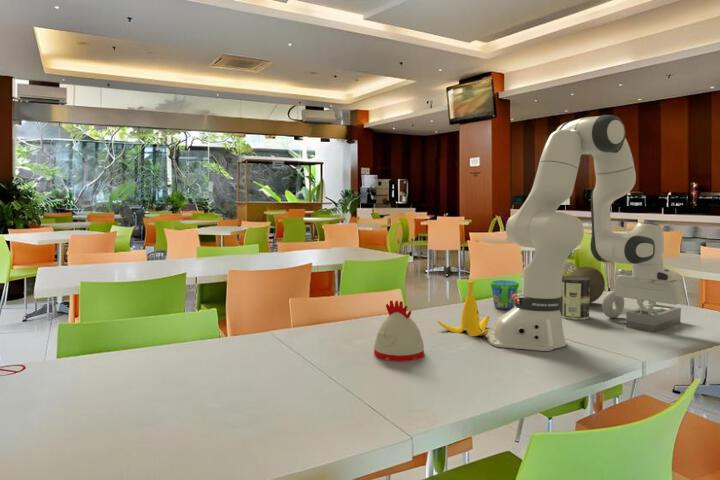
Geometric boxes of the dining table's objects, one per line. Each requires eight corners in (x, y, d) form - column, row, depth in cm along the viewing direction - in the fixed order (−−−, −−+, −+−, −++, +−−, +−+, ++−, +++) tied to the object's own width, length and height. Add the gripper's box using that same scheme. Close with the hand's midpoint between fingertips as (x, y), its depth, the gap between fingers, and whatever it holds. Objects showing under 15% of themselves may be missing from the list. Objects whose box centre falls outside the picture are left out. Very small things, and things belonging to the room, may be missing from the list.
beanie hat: (393, 344, 156) (393, 294, 155) (433, 352, 148) (433, 299, 146) (364, 355, 146) (363, 302, 144) (405, 364, 137) (405, 308, 136)
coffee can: (582, 313, 194) (583, 275, 193) (594, 319, 183) (595, 280, 182) (554, 313, 194) (555, 275, 193) (564, 320, 184) (565, 280, 183)
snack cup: (517, 313, 195) (517, 286, 194) (488, 311, 199) (488, 284, 198) (519, 304, 210) (519, 279, 209) (492, 303, 213) (492, 278, 212)
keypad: (654, 331, 167) (655, 316, 166) (626, 326, 174) (626, 311, 173) (680, 322, 179) (680, 307, 178) (652, 317, 186) (653, 303, 186)
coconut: (559, 302, 214) (559, 265, 213) (587, 299, 219) (588, 264, 217) (583, 308, 201) (584, 270, 200) (613, 306, 205) (614, 268, 204)
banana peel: (489, 326, 177) (489, 277, 176) (489, 341, 159) (489, 286, 157) (439, 323, 181) (439, 275, 180) (434, 338, 163) (434, 285, 161)
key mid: (657, 315, 173) (657, 309, 173) (645, 313, 176) (645, 307, 176) (662, 313, 176) (663, 307, 175) (650, 311, 179) (650, 305, 179)
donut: (608, 320, 182) (609, 292, 181) (599, 318, 185) (600, 290, 184) (626, 317, 187) (627, 289, 186) (617, 315, 190) (618, 288, 189)
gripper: (611, 269, 177) (609, 309, 178) (677, 276, 161) (675, 320, 162) (620, 268, 181) (618, 307, 182) (685, 274, 165) (683, 317, 166)
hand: (645, 313), depth 172 cm, fingers closed, pressing on key near
